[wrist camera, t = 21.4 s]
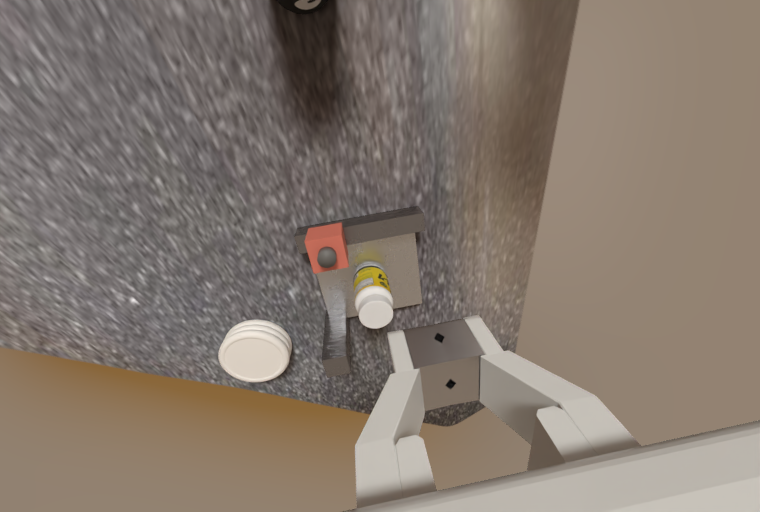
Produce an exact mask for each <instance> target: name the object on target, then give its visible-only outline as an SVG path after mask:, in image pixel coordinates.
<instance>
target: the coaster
mask: <svg viewBox="0 0 760 512" xmlns="http://www.w3.org/2000/svg"><path fill="white" fill-rule="evenodd" d="M291 351H292V342H291V338H290V336H289V335H288V333H287V332H286V331H285V330H284V329H283V328H282V327H280V326H279V325H277V324H275V323H272V322H270V321H266V320H248V321H244V322H241V323H239V324H237V325H235V326H234V327H233V328H232V329H231V330H230V331H229V332H228V333H227V335H226V337H225V339H224V341H223V343H222V345H221V347H220V349H219V362H220V364H221V366H222V367H223V369H224V370H225V371H226V372H227V373H229V374H230V375H232V376H233V377H235V378H237V379H240V380H243V381H248V382H263V381H268V380H271V379H274V378H276V377H277V376H279V375H280V374H281V373H283V372H284V370H285V369H286V367H287V366H288V364H289V360H290V355H291Z"/></svg>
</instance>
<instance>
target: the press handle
mask: <svg viewBox="0 0 760 512" xmlns="http://www.w3.org/2000/svg"><path fill="white" fill-rule="evenodd" d="M304 242H305V245H306V249H307V252H308V256H309V259H310V262H311V266H312V269H313V272H314V274H315V273H320V272H325V271H331V270H336V269H341V268H347V267H349V259H348V249H347V244H346V240H345V235H344V231H343V226H342V222H341V223H335V224H330V225H324V226H319V227H313V228H308V231H307V235H306V238H305V241H304Z"/></svg>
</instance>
